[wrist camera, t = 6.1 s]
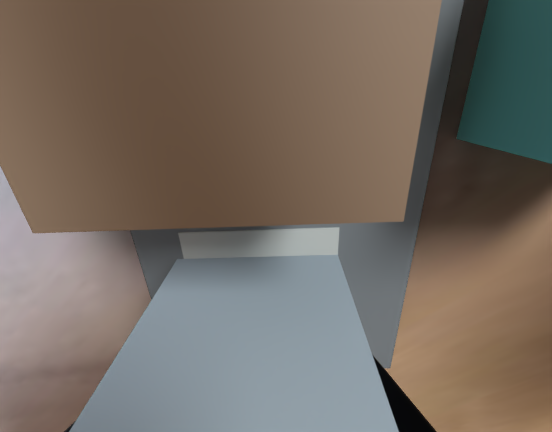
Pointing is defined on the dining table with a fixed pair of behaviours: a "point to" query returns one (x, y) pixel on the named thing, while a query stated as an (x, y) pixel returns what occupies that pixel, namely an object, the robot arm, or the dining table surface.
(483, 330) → the dining table surface
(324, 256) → the grey block
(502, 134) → the teal block
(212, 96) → the walnut block
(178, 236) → the mat
